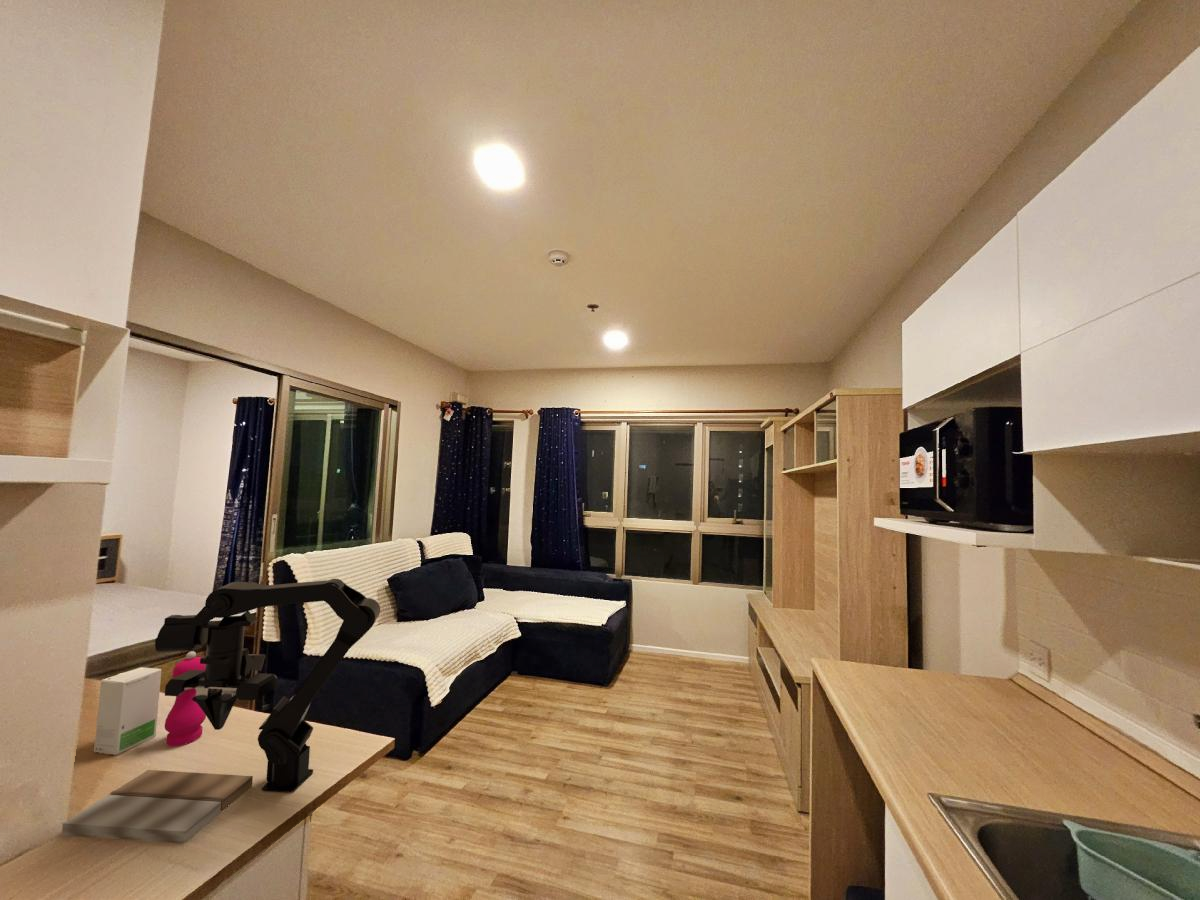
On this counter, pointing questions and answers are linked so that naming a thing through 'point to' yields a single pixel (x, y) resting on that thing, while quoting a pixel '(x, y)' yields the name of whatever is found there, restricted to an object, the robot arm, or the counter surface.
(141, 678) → the skincare box
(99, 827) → the grey plank
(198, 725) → the pepper mill
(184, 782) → the walnut plank
